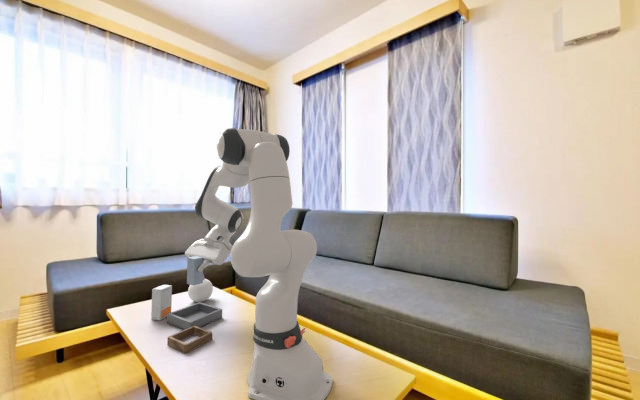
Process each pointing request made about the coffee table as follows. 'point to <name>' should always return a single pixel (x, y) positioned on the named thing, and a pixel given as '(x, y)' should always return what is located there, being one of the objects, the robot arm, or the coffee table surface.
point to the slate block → (194, 270)
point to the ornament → (200, 291)
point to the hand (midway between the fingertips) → (193, 269)
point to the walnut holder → (187, 347)
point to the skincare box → (161, 302)
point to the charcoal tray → (194, 316)
